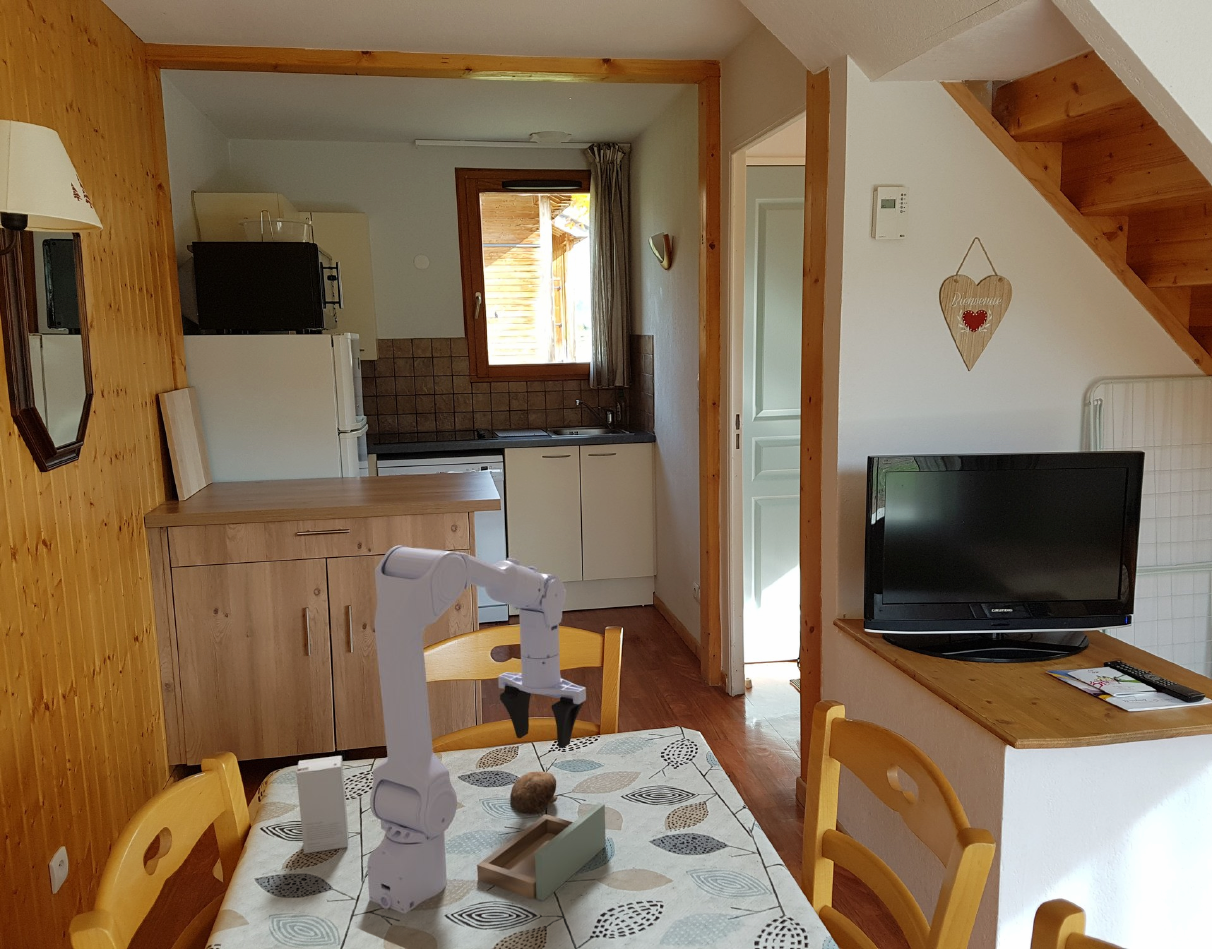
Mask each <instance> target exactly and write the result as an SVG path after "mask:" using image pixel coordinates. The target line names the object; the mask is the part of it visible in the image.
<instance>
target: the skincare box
mask: <svg viewBox="0 0 1212 949" xmlns="http://www.w3.org/2000/svg"><path fill="white" fill-rule="evenodd" d="M296 770H297V771H296V775H295V776H296V781H297V782H296V783H297V793H298V802H299V812H300V813H299V814H300V823H301V824H300V825H301V835H302V843H303V844H302V846H303V853H304V854H311V853H319V852H323V851H324V852H325V851H330V850H336V849H343V848H348V847H349V835H350V834H349V833H350V831H349V822H348V812H347V811H348V810H347V800H346V799H347V798H346V789H345V786H346V785H345V777H344V776H345V775H344V766H343V756H342V755H335V756H329V757H320V758H313V759H304V760H299V761H298V762H297V769H296Z"/></svg>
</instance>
